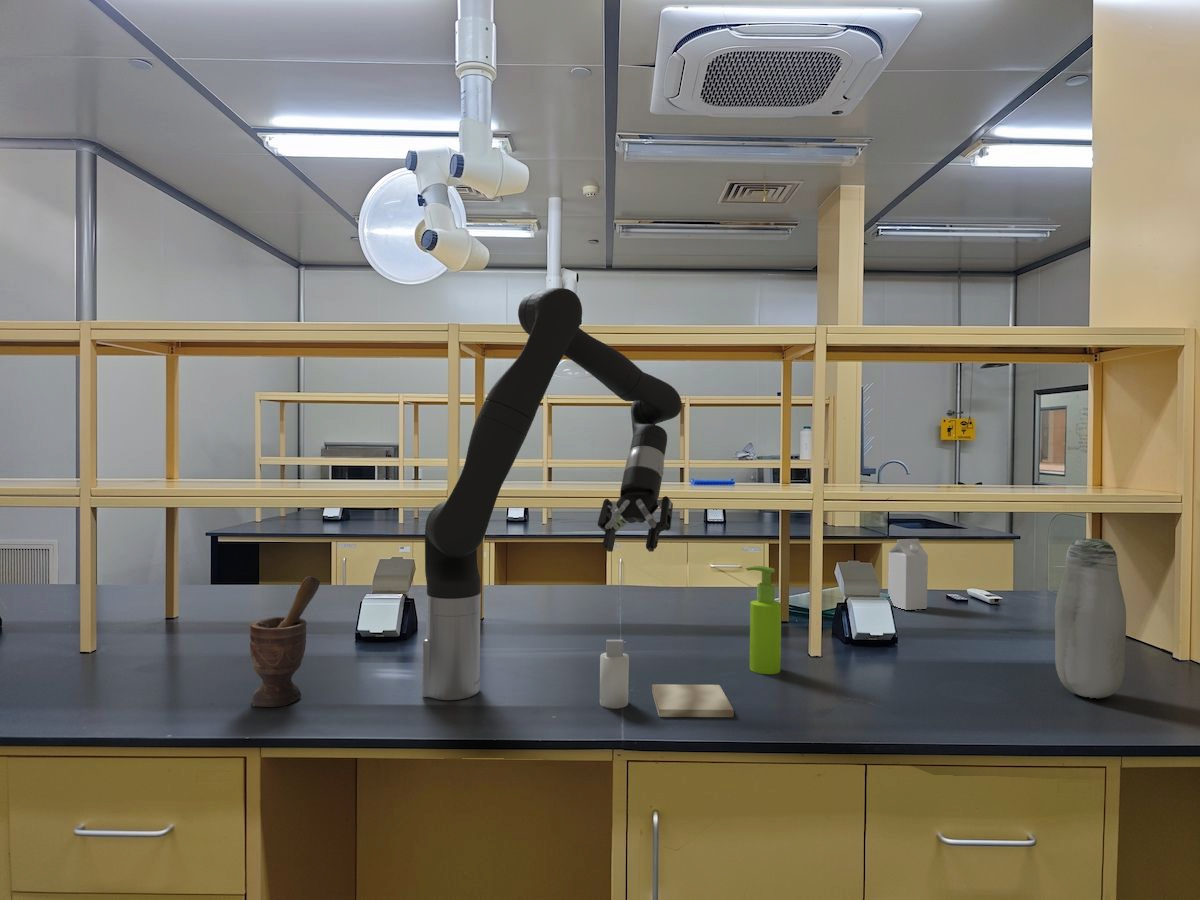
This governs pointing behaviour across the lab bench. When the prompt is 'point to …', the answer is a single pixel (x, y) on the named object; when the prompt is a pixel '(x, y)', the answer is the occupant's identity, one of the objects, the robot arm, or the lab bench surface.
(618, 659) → the white bottle
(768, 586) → the soap dispenser
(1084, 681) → the grey bottle
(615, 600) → the lab bench surface
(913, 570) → the milk carton
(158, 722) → the lab bench surface
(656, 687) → the board
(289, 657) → the mortar and pestle
